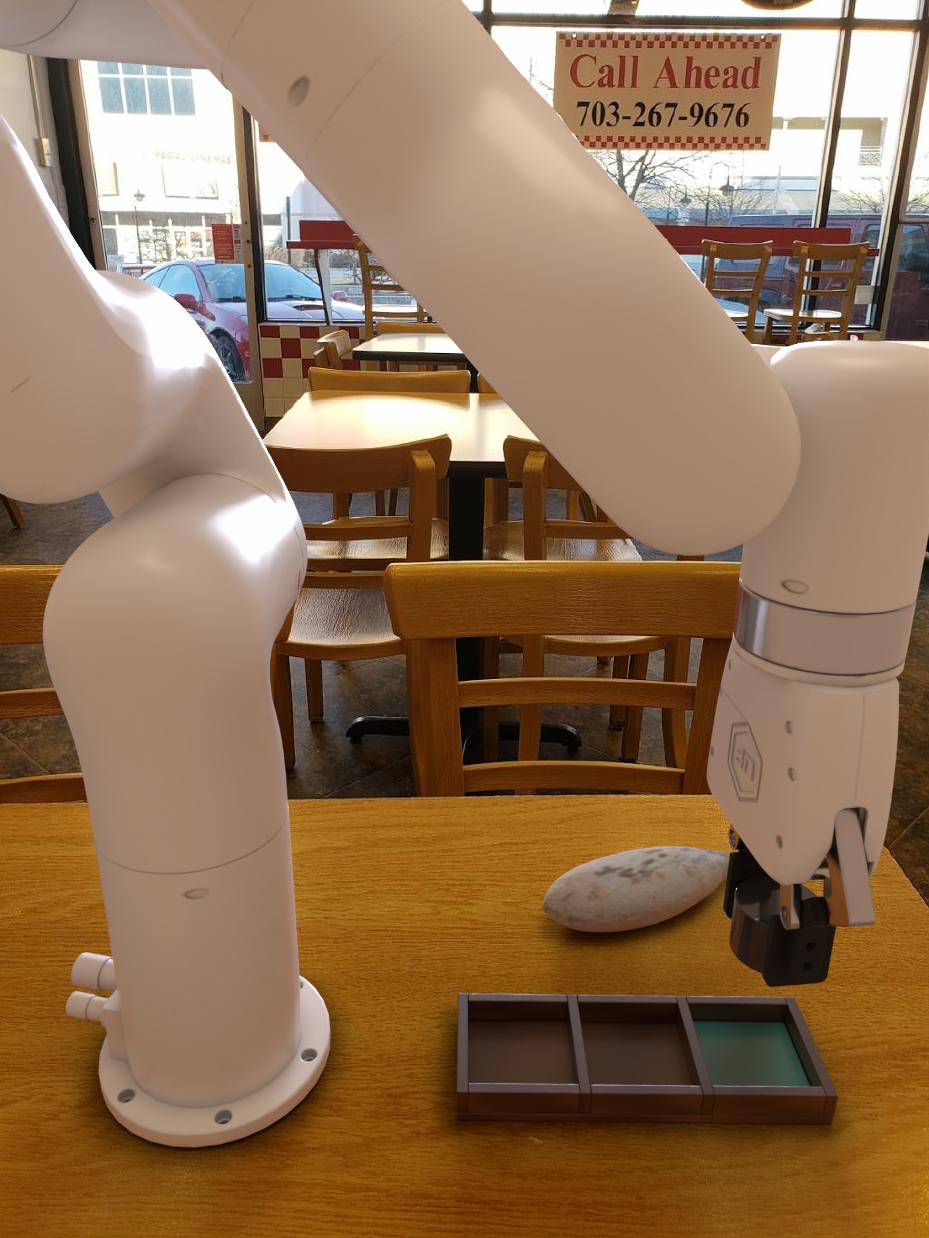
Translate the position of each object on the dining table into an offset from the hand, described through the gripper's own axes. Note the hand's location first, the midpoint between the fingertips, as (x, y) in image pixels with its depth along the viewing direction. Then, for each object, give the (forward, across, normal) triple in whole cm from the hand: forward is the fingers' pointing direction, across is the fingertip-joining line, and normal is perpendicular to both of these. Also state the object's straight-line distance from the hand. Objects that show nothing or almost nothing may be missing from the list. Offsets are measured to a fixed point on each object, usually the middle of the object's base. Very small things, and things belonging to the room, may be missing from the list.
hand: (772, 942), depth 49 cm
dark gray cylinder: (0, 0, 0) cm, 0 cm away
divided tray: (+9, -1, -7) cm, 11 cm away
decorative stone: (+9, -15, -2) cm, 17 cm away
